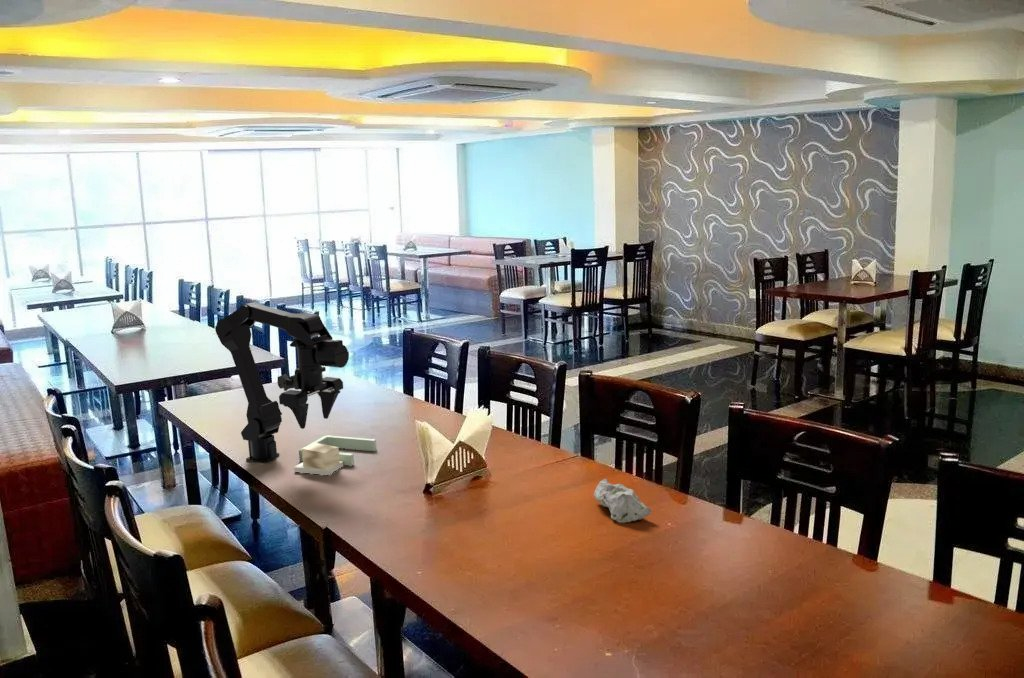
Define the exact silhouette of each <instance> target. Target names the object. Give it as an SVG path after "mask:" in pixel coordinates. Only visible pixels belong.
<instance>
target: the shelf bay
mask: <svg viewBox="0 0 1024 678" xmlns="http://www.w3.org/2000/svg"><path fill="white" fill-rule="evenodd" d="M314 443H319V444H324V445H329V446H335V447H339V449H343V448H345V449H344V450H346V449H347V450H355V449H356V451H368V452H376V451H377V449H378V448H377V439H373V438H363V437H362V438H361V437H351V436H350V437H349V436H341V435H340V436H338V435H328V434H327V435H324V436H322V437H320V438H318V439H317V440H315V441H313V442H311V443H309V444H308V445H305V447H307V446H309V445H312V444H314ZM339 458H340V461H343V465H349V466H348V467H353V466H354V465H355V456H354V453H347V452H339ZM298 459H299V462H302V461H303V459H302V448H301V449H299V450H298ZM352 465H353V466H352Z"/></svg>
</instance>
